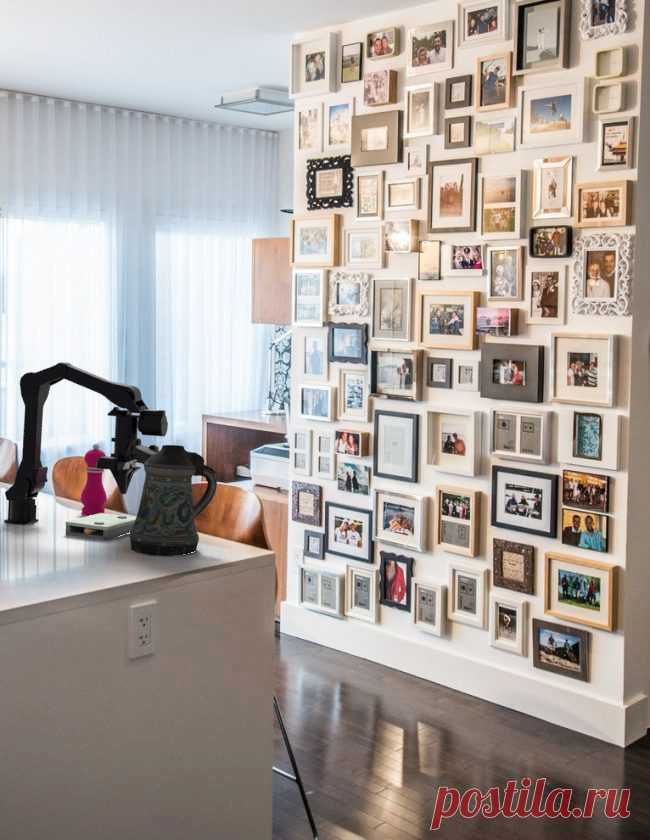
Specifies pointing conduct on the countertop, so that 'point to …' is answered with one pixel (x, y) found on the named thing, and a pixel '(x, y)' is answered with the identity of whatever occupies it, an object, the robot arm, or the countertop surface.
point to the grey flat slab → (98, 532)
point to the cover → (102, 521)
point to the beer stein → (170, 503)
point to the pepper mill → (93, 484)
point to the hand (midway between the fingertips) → (123, 493)
